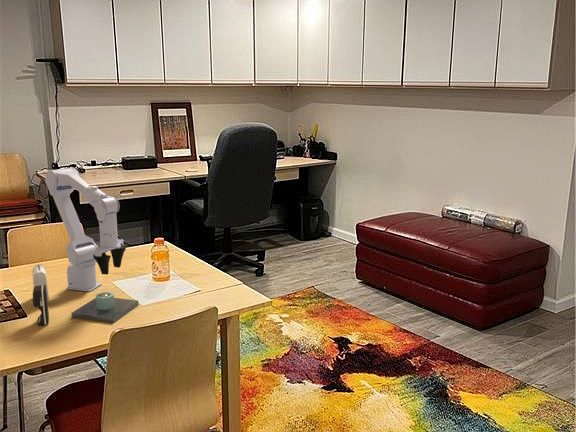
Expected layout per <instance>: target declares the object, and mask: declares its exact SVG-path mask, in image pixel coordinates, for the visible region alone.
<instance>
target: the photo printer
mask: <svg viewBox="0 0 576 432" xmlns="http://www.w3.org/2000/svg"><path fill="white" fill-rule="evenodd" d="M31 273H32V282H33V288H34V287H35V286H39V285H46V290H47V300H48V303H49V300H50V299H49V297H50V296H49V288H48V278H47V277H48V276H47V269H46V267H45V266H44V265H43V264H42V263H41V264H39V263H38V264H35V265H34V266H33V268H32V272H31Z"/></svg>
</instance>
